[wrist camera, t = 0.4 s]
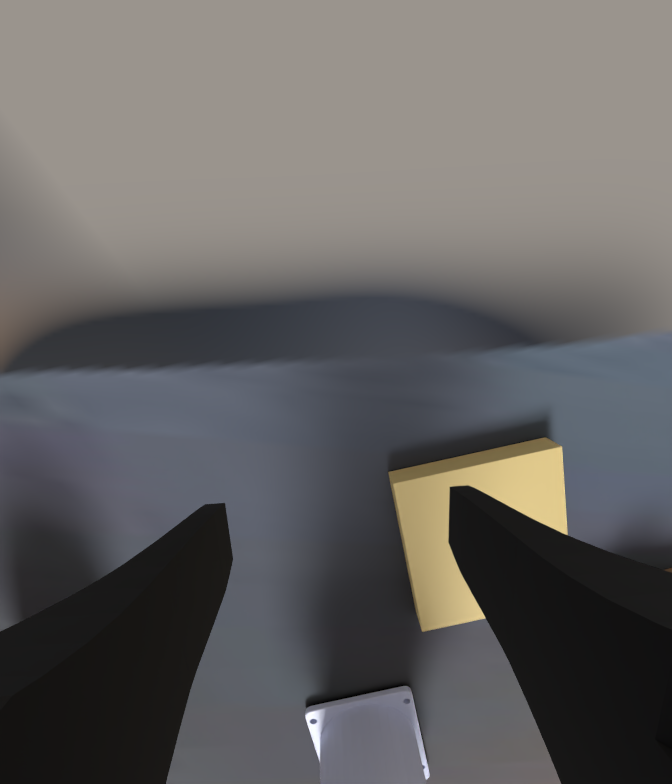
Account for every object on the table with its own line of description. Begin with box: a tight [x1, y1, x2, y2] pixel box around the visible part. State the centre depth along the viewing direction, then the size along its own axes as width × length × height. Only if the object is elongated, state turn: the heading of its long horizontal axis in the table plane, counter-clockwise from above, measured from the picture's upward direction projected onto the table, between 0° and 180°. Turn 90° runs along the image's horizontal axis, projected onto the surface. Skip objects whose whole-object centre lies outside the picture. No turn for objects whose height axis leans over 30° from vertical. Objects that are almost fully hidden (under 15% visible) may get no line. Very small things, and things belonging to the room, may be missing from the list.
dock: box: [388, 437, 568, 632], centre depth 22 cm, size 11×10×2 cm
